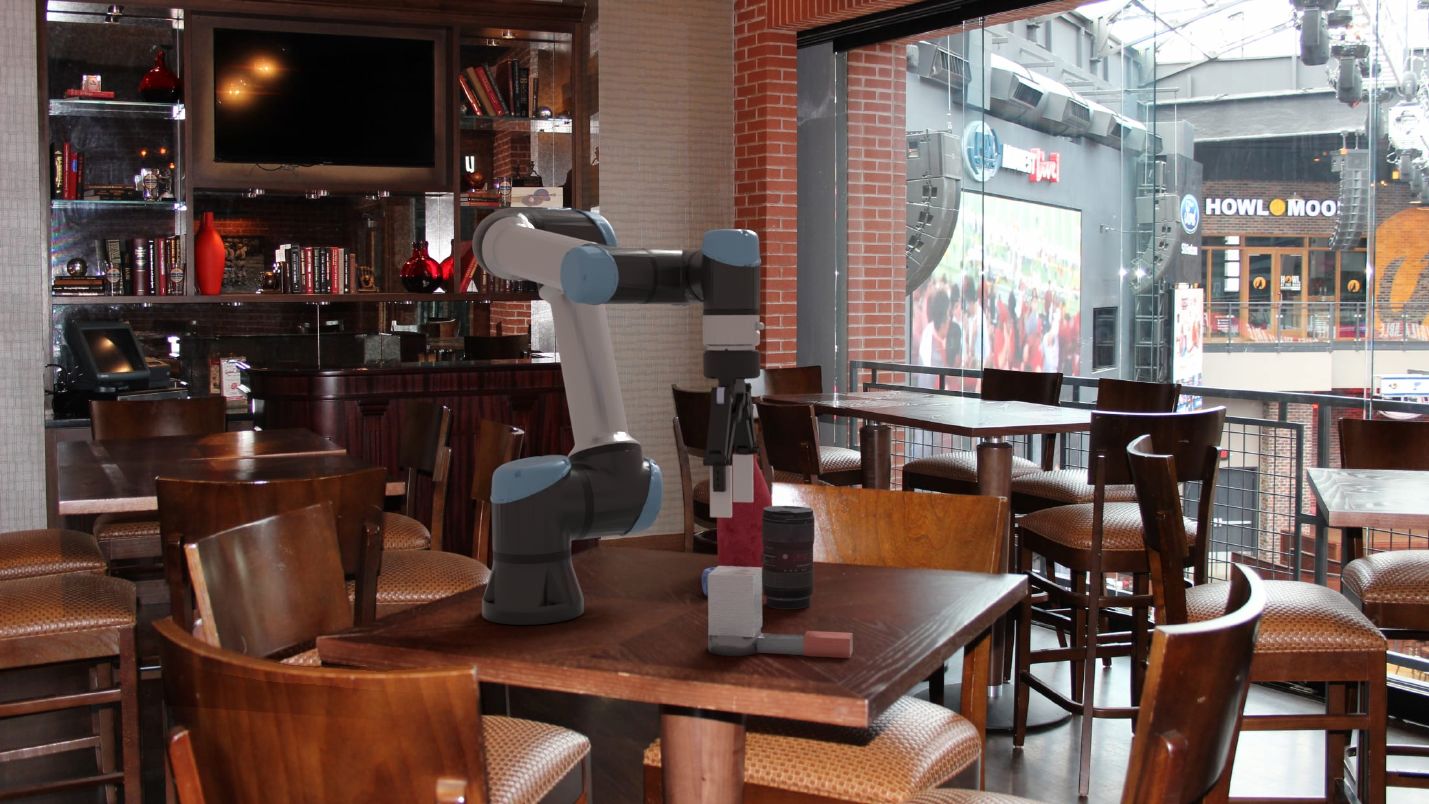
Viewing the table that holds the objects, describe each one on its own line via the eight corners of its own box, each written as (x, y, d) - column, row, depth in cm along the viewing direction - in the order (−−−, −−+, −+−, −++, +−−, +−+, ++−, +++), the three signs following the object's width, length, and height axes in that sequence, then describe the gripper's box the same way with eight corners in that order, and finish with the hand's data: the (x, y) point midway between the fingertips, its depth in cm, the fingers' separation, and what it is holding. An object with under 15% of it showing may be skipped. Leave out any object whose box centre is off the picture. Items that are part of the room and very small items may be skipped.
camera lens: (811, 611, 184) (811, 512, 183) (758, 609, 186) (757, 511, 185) (817, 600, 192) (817, 505, 191) (766, 598, 194) (766, 504, 193)
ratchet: (702, 654, 160) (702, 609, 160) (715, 641, 167) (714, 597, 167) (847, 662, 156) (847, 615, 156) (854, 648, 163) (854, 603, 163)
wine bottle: (718, 567, 220) (716, 399, 218) (773, 566, 220) (772, 399, 218) (716, 578, 210) (714, 403, 208) (773, 577, 210) (772, 402, 208)
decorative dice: (725, 591, 200) (725, 566, 200) (732, 595, 196) (732, 571, 196) (701, 592, 199) (701, 568, 199) (707, 597, 195) (707, 572, 195)
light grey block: (708, 635, 161) (707, 574, 160) (718, 624, 166) (718, 565, 166) (753, 637, 159) (753, 576, 159) (762, 626, 165) (761, 567, 165)
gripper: (739, 350, 148) (740, 524, 149) (776, 346, 172) (777, 496, 174) (679, 350, 150) (681, 523, 151) (724, 346, 174) (725, 495, 175)
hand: (732, 509), depth 162 cm, fingers open, 13 cm apart
